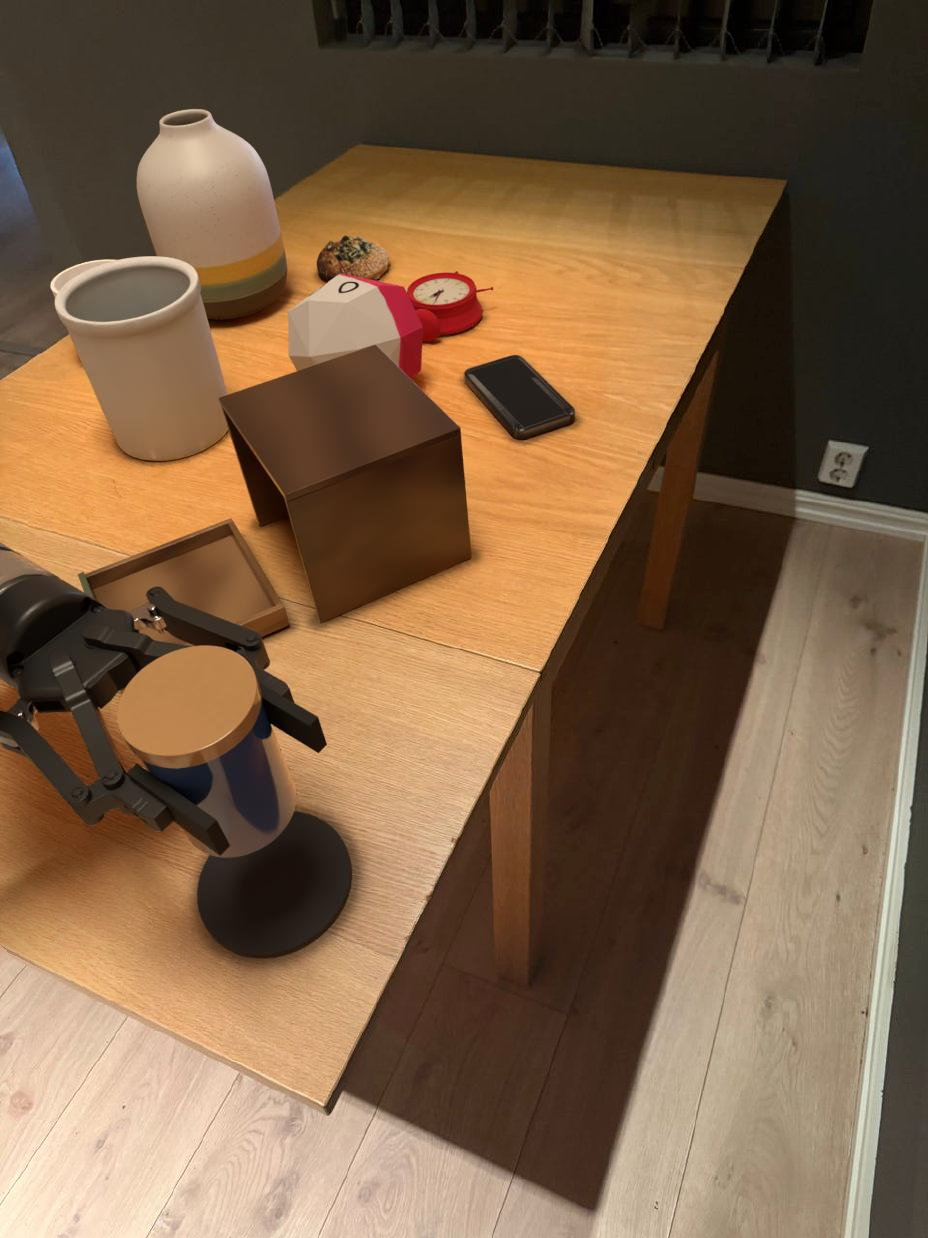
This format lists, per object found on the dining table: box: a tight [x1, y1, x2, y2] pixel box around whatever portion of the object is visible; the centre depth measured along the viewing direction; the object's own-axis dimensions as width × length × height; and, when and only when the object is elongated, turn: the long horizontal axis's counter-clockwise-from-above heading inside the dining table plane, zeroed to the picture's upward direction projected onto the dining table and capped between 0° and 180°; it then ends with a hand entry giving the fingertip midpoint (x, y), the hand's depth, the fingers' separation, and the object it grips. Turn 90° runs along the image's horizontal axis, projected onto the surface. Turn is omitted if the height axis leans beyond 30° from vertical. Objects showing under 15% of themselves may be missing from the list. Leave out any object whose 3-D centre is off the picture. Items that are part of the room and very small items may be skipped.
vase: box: [136, 108, 288, 321], centre depth 117 cm, size 17×17×24 cm
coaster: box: [196, 811, 353, 959], centre depth 63 cm, size 11×11×1 cm
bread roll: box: [316, 234, 390, 282], centre depth 129 cm, size 11×11×5 cm
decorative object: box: [287, 273, 423, 380], centre depth 102 cm, size 15×15×15 cm
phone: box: [463, 354, 576, 440], centre depth 103 cm, size 8×1×15 cm
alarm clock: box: [406, 271, 494, 342], centre depth 116 cm, size 10×6×15 cm
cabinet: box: [219, 345, 473, 624], centre depth 83 cm, size 16×17×15 cm
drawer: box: [77, 517, 291, 692], centre depth 82 cm, size 15×15×3 cm
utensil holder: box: [54, 255, 229, 462], centre depth 98 cm, size 15×15×18 cm
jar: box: [116, 645, 297, 858], centre depth 52 cm, size 8×8×11 cm
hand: (270, 784), depth 49 cm, fingers closed on jar, 7 cm apart
